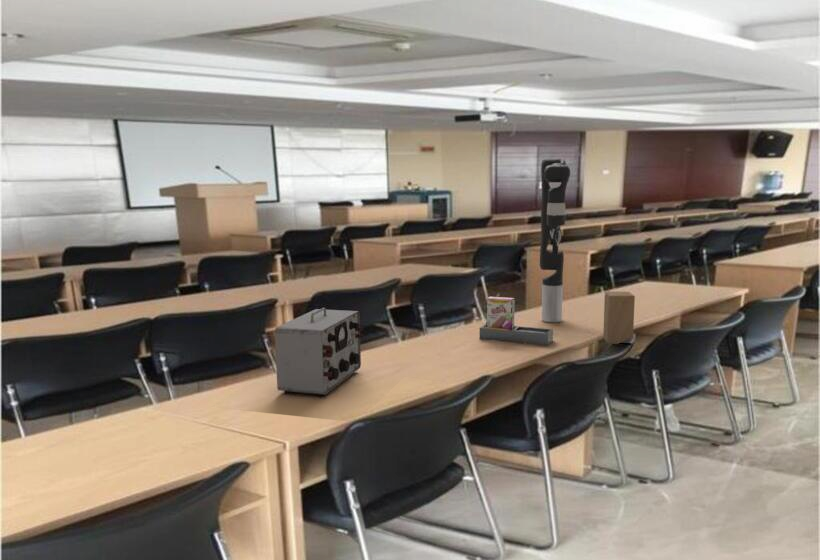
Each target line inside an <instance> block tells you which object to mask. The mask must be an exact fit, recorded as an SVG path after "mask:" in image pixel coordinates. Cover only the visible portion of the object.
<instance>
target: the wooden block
mask: <svg viewBox="0 0 820 560" xmlns="http://www.w3.org/2000/svg"><path fill="white" fill-rule="evenodd" d="M635 297H636V296H635V295H634V294H633V293H631V292H630V291H604V304H603V305H604V307H603V308H604V309H603V310H604V311H603V335H602V337H603V339H604V341H605V342H606V343H607V344H608V345H620V344H619V343H621V342H623V341H625V340H627V339H629V338H632V339H633V340H634V326H635V325H634V323H635V322H634V321H635V299H636V298H635Z"/></svg>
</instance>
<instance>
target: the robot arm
mask: <svg viewBox="0 0 820 560" xmlns="http://www.w3.org/2000/svg"><path fill="white" fill-rule="evenodd" d="M540 169H541V170H540V175H541V180H540V181H541V205H540V206H541V209H540V235H541V236H540V246H539V247H540V248H539V250H540V252H539V268H540V269H541V270H543V271H554V273H553V274H551V275H548V276H545V277H543V278H542V287H541V288H542V289H541V290H542V291H541V293H542V294H541V295H542V296H541V321H543V322H546V323H560V322H562V319H563V315H562V314H563V288H564V287H563V281H564V278H563V277H564V275H563V272H564V264H565V263H564V260H565V257H564V252H563V250H560V249H559V246H560V244H561V240H562V236H563V235H562V234H563V232H562V229H561V227H562V226H564V225H566V192H567V191H566V189H567V185H568V183H569V180H570V175H571V169H570V167H569V166H568V165H567V162H566V160H565V159H564V158H561V157H557V158H556V157H554V158H552V157H551V158H543V159H542V161H541V164H540ZM550 183H560V185H559V186H557V187H554V188H552V187H551V186H550ZM549 243H550V246H551V247H552V249H549V250H548V246H549Z"/></svg>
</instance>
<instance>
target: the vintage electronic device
mask: <svg viewBox="0 0 820 560" xmlns="http://www.w3.org/2000/svg"><path fill="white" fill-rule="evenodd" d="M360 316H361V315H360V311H358V310H344V309H343V310H339V309H327V308H325V307H322V308H320V309H319V308H315V309H313V310H311V311H309V312H306V313H304V314H302V315H300V316H298V317H296V318H294V319H292V320H289V321H287V322H285V323H282V324H280V325H279V326H276V327H275V329H274V343H275V344H274V347H275V365H276V366H275V367H276V368H275V369H276V389H277V391H282V392H284V394H286V395H288V394H289V395H290V394H292V393H303V394H315V395H317V397H318V398H319V397H320V398H324V397H325V396H326V395H327V394H328V393H330V392H331V391H333V390H334V389H335V388H336V387H337V386H339V385H340V384H341V383H343V382H344V381H345V380H347V379H348V378H349V377H351V376H352V375H354V374H355V373H356V372H357V371H358V370H359V369H361V366H362V358H361V357H362V355H361V354H362V353H361V352H362V351H361V339H363V338H364V334H362V333H361V332H363V331H364V327H361V319H360V318H361V317H360Z"/></svg>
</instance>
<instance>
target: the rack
mask: <svg viewBox="0 0 820 560" xmlns="http://www.w3.org/2000/svg"><path fill="white" fill-rule="evenodd" d="M483 339H485V340H484V341H493V340H494V341H495V342H505V343H512V344H513V343H514V344H523V343H526V344H525V345H533V344H534V346H543V345H544V346H546V347H548V346H550V344H552V342H554V329H553V328H552V329H551V328H545V327H544V328H542V327H531V326H522V325H521V326H520V325H514V329H513V330H509V329H504V328H493V327H486V323H485V324H483V325H481V326H480V327H479V340H483ZM544 346H543V347H544Z"/></svg>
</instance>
